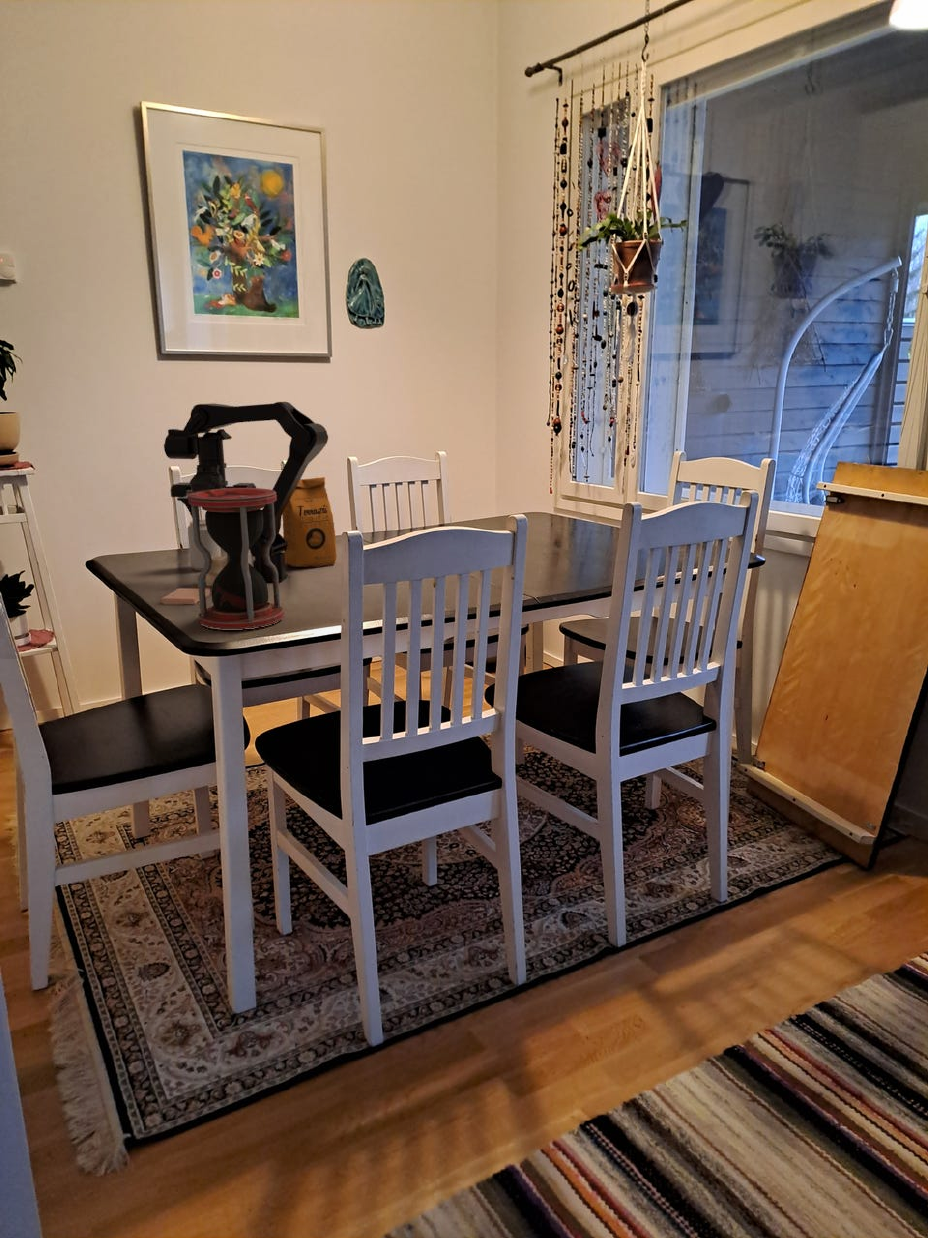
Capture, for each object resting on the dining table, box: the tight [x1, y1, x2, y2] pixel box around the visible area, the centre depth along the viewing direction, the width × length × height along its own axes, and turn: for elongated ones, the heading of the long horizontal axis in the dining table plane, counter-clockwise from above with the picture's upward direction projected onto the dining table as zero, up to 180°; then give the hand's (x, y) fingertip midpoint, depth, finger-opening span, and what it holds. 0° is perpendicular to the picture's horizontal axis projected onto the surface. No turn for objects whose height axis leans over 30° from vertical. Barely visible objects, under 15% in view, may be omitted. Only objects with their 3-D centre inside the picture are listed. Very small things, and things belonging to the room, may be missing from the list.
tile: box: [161, 587, 211, 605], centre depth 184 cm, size 7×2×9 cm
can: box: [186, 518, 222, 572], centre depth 212 cm, size 8×8×12 cm
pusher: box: [204, 556, 227, 587], centre depth 197 cm, size 4×4×6 cm
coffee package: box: [281, 476, 337, 568], centre depth 214 cm, size 10×12×22 cm
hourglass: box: [188, 487, 285, 629], centre depth 164 cm, size 16×16×25 cm
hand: (216, 526), depth 201 cm, fingers open, 9 cm apart
